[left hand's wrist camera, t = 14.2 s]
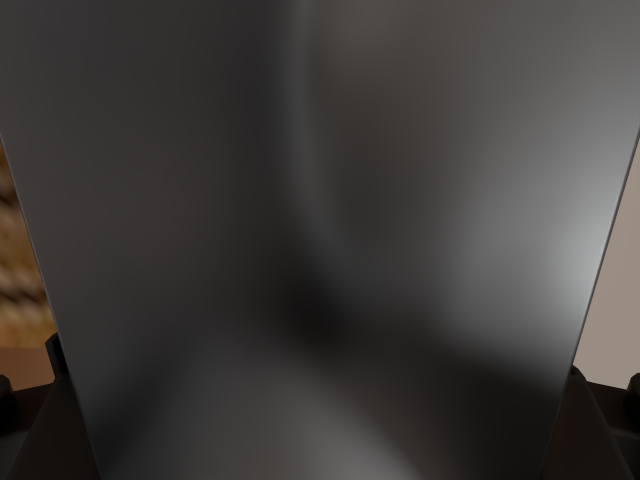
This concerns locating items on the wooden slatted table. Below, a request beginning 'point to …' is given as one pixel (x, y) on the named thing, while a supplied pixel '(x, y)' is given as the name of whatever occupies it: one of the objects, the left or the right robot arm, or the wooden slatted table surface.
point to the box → (319, 223)
